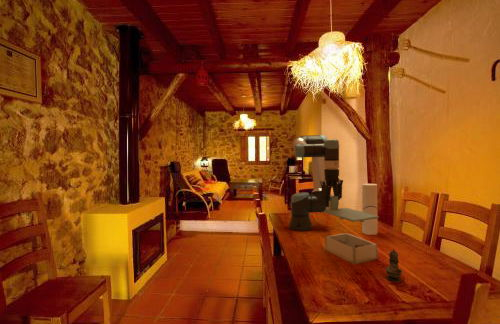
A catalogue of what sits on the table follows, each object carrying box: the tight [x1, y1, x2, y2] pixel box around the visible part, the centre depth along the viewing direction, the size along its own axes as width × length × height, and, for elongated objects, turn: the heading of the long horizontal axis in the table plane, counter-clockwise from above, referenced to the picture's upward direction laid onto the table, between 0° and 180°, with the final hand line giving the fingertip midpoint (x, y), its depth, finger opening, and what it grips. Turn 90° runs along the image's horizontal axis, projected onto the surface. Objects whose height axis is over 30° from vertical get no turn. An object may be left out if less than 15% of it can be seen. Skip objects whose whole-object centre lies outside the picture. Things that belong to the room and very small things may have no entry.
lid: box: [322, 194, 380, 223], centre depth 134 cm, size 26×15×9 cm, turn 22°
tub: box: [324, 232, 378, 265], centre depth 132 cm, size 20×14×7 cm
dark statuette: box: [385, 248, 403, 283], centre depth 106 cm, size 6×6×12 cm
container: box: [361, 183, 379, 236], centre depth 166 cm, size 9×9×30 cm
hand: (332, 212), depth 144 cm, fingers closed on lid, 4 cm apart
